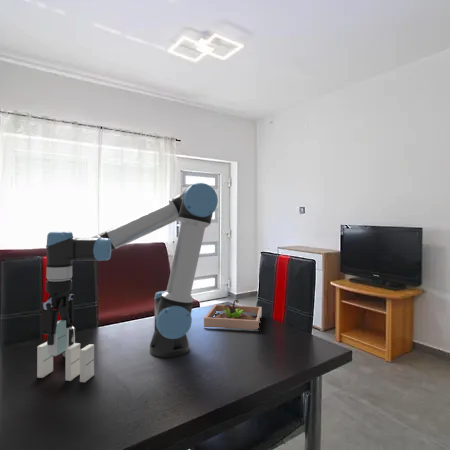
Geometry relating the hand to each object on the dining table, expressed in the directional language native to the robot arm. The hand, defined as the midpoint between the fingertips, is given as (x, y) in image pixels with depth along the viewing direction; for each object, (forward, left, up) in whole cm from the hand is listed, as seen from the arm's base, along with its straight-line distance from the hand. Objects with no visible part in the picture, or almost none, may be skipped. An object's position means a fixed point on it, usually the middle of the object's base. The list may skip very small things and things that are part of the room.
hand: (58, 350), depth 106 cm
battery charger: (+6, -13, -8) cm, 17 cm away
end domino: (+5, 0, -8) cm, 9 cm away
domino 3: (-10, 0, -8) cm, 13 cm away
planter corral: (-48, -67, -8) cm, 83 cm away
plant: (-48, -68, -9) cm, 83 cm away
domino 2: (-5, 0, -8) cm, 10 cm away
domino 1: (0, 0, -1) cm, 1 cm away
